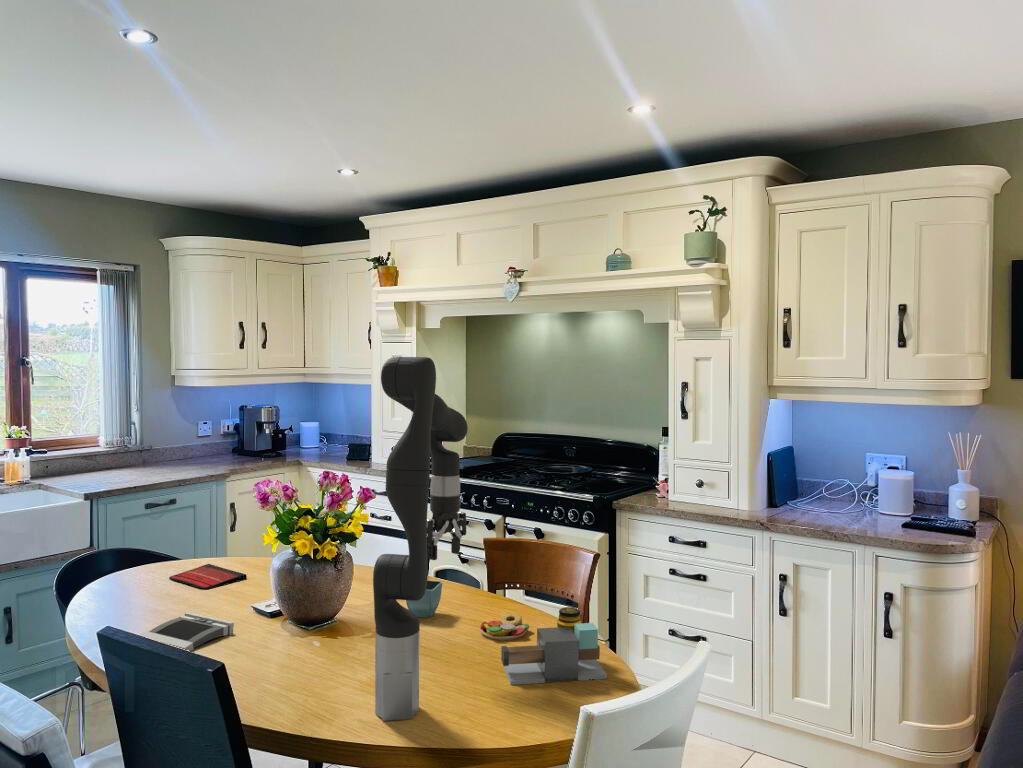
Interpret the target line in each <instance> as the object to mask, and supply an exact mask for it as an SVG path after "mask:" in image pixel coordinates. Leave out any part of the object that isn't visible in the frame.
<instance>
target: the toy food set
mask: <svg viewBox="0 0 1023 768" xmlns="http://www.w3.org/2000/svg"><path fill="white" fill-rule="evenodd" d="M529 628H530V624H528V623H523V618H522V616H520V615H519V614H518V613H517V614H516V613H505V614H503V615H502V616H500V618H499V619H498V620H491V621H482V623H481V624H480V627H479V631H480V633H481V635H483V636H484V637H486V638H488V639H490V640H496V641H510V640H511V641H512V640H516V639H519V638H522V637H523V636H524V635H525V634H526V633H527V630H528V629H529Z"/></svg>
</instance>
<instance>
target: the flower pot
mask: <svg viewBox="0 0 1023 768" xmlns="http://www.w3.org/2000/svg"><path fill="white" fill-rule="evenodd" d="M442 588H443V581H440V580H428V579H427V586H426V591H425V594H424V596H423V597H422V598H421V599H420V600H416V601H411V600H405V602H406V607H407V609H408V610H410V611H412V612H414V613H415V614H417V615H418V617H419V618H424V619H425V618H426V619H429V618H430V617H432V616H433V614H435V612H436V611H437V609H438V608H439V605H440V602H441V597H442V590H443V589H442Z"/></svg>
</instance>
